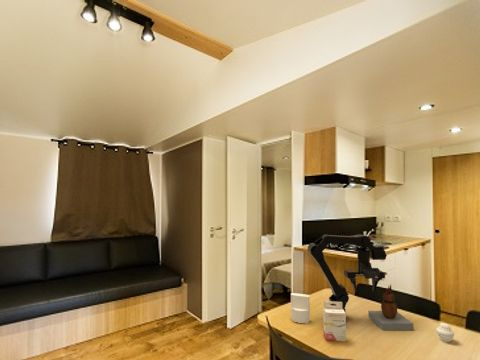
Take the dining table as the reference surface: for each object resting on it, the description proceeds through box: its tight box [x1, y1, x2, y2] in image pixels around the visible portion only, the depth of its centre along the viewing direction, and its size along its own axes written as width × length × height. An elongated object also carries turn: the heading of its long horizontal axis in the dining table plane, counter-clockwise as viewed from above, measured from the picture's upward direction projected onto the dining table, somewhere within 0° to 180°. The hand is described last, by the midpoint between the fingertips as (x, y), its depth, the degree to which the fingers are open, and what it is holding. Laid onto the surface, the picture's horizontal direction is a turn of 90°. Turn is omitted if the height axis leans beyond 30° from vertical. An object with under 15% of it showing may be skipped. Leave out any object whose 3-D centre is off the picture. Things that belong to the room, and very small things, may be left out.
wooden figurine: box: [380, 284, 398, 318], centre depth 133 cm, size 7×6×15 cm
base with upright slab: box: [290, 292, 311, 324], centre depth 137 cm, size 9×9×12 cm
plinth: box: [367, 310, 414, 331], centre depth 133 cm, size 14×14×3 cm
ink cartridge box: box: [322, 300, 347, 342], centre depth 119 cm, size 9×5×15 cm, turn 84°
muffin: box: [436, 322, 455, 343], centre depth 117 cm, size 6×6×7 cm
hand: (364, 291), depth 139 cm, fingers open, 9 cm apart
